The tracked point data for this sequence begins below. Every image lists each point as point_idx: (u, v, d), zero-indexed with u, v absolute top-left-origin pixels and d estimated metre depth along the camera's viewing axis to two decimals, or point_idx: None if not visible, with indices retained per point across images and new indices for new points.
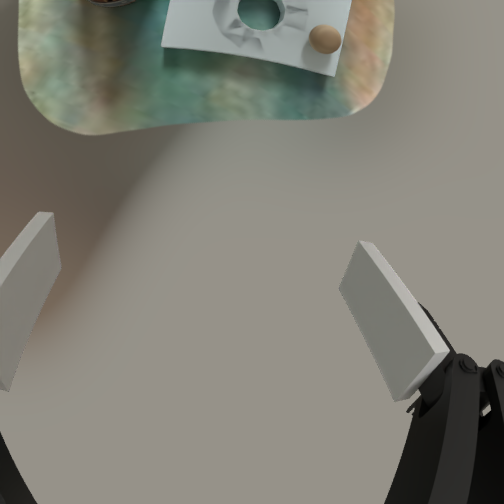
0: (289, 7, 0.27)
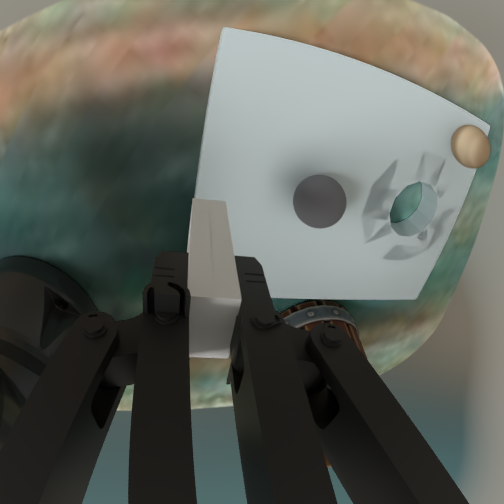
0: (417, 176, 0.23)
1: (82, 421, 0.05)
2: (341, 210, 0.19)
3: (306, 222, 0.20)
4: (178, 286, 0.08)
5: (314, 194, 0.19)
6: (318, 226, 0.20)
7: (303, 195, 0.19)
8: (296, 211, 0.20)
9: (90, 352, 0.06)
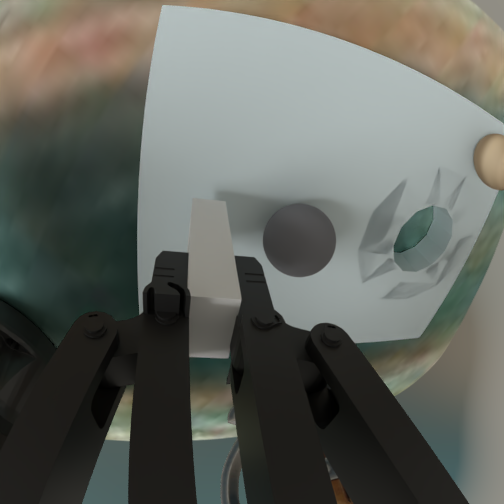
0: (430, 199, 0.17)
1: (82, 421, 0.05)
2: (328, 255, 0.14)
3: (280, 270, 0.15)
4: (178, 286, 0.08)
5: (289, 235, 0.14)
6: (296, 276, 0.15)
7: (274, 236, 0.14)
8: (266, 255, 0.15)
9: (90, 352, 0.06)
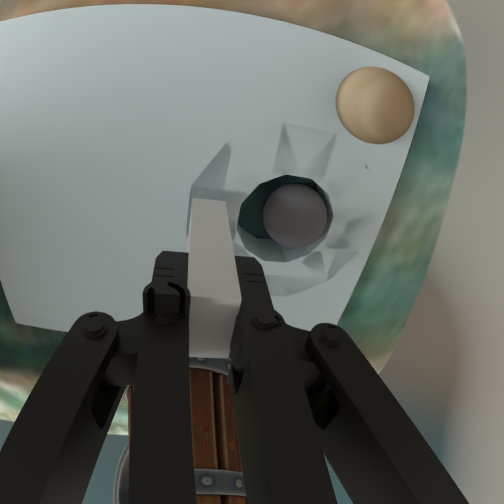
0: (279, 166, 0.15)
1: (82, 421, 0.05)
2: (323, 226, 0.17)
3: (281, 243, 0.17)
4: (178, 286, 0.08)
5: (291, 210, 0.16)
6: (296, 246, 0.17)
7: (277, 212, 0.16)
8: (268, 230, 0.17)
9: (90, 352, 0.06)
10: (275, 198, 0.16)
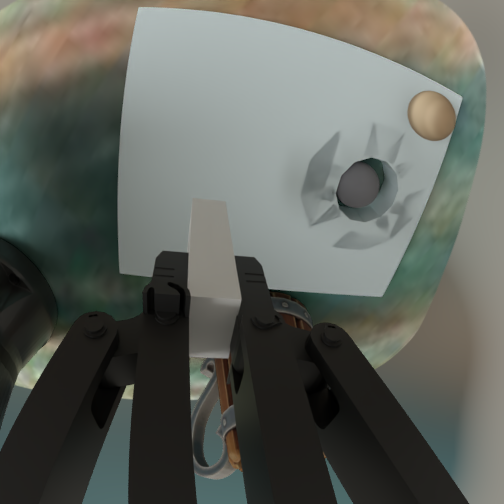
0: (368, 151, 0.21)
1: (82, 421, 0.05)
2: (365, 191, 0.21)
3: (337, 196, 0.23)
4: (178, 286, 0.08)
5: None
6: (345, 201, 0.22)
7: None
8: None
9: (90, 352, 0.06)
10: None
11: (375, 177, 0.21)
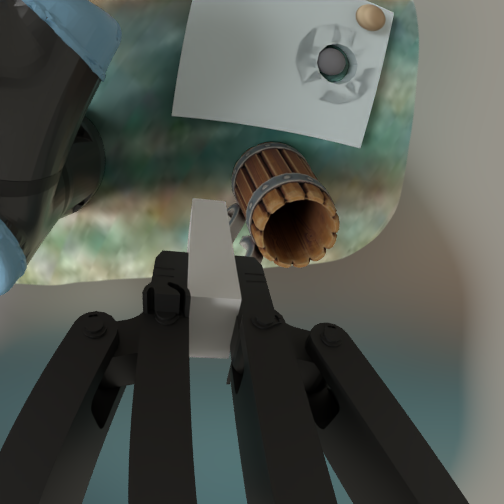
0: (334, 39, 0.30)
1: (82, 421, 0.05)
2: (336, 60, 0.30)
3: (319, 67, 0.32)
4: (178, 286, 0.08)
5: (322, 51, 0.31)
6: (325, 68, 0.32)
7: None
8: None
9: (90, 352, 0.06)
10: None
11: (342, 54, 0.31)
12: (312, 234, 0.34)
